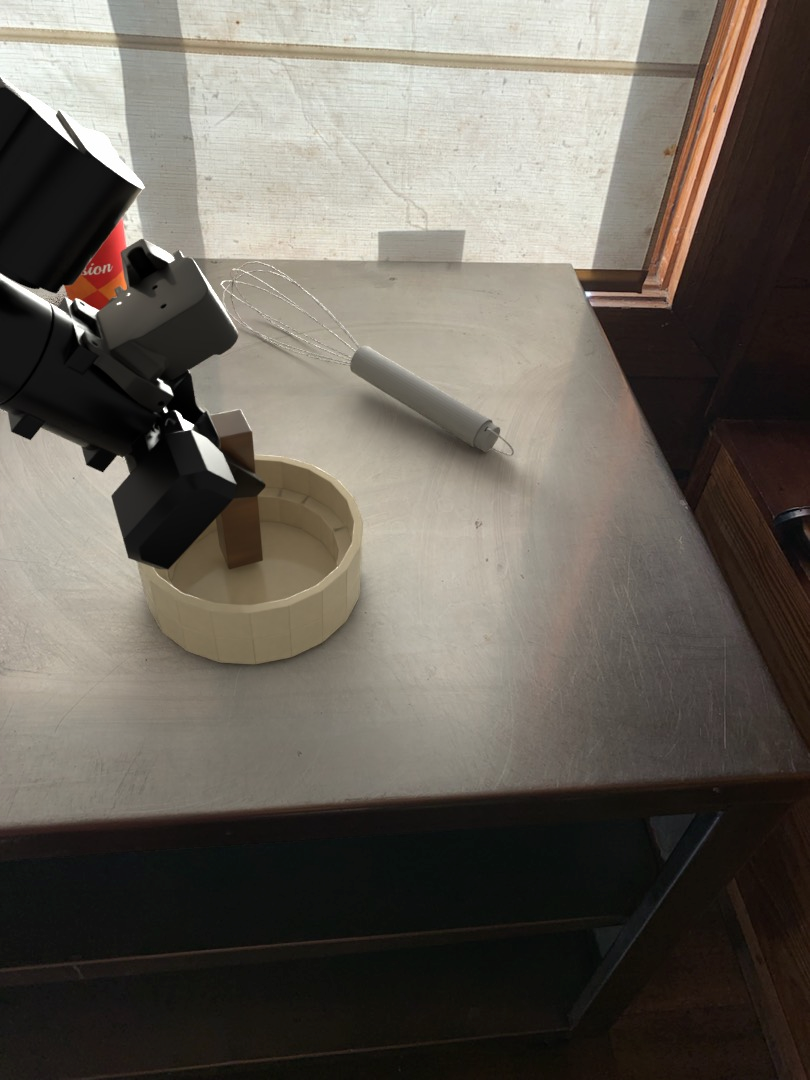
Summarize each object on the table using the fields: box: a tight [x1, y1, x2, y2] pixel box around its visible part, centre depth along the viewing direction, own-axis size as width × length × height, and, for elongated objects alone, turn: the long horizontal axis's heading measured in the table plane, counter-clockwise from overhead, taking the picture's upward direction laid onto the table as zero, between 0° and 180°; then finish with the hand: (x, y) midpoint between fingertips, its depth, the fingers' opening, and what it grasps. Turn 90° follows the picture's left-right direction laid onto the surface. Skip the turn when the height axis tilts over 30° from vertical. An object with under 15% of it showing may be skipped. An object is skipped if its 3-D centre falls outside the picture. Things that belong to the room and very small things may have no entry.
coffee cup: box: [63, 127, 128, 310], centre depth 74 cm, size 8×8×15 cm
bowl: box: [136, 454, 364, 665], centre depth 52 cm, size 14×14×6 cm
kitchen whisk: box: [220, 261, 515, 457], centre depth 70 cm, size 6×34×6 cm, turn 50°
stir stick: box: [210, 408, 263, 569], centre depth 50 cm, size 2×2×11 cm
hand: (254, 476), depth 50 cm, fingers closed on stir stick, 2 cm apart
